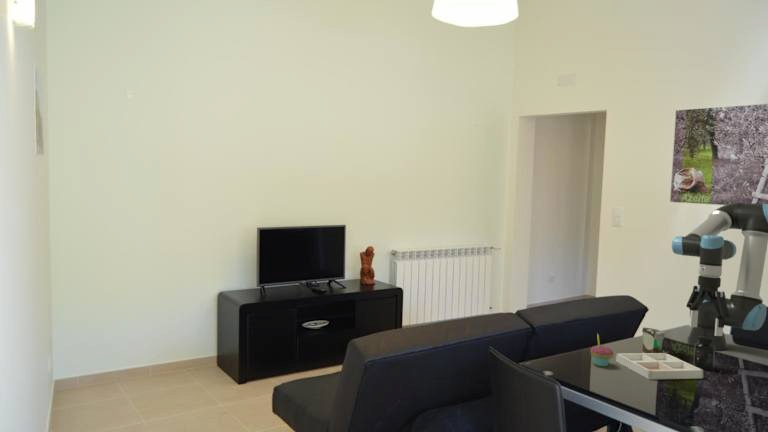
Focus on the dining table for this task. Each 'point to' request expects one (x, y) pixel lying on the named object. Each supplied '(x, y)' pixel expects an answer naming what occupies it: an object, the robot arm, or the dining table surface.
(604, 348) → the cupcake
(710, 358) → the supplement bottle
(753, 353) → the dining table surface
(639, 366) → the organiser
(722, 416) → the dining table surface
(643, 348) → the food container
